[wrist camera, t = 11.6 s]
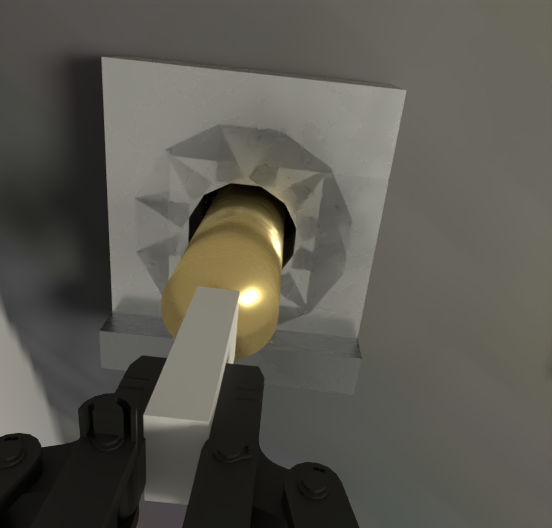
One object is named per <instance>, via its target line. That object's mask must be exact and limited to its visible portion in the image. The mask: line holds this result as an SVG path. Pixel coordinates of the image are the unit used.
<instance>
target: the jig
mask: <svg viewBox="0 0 552 528" xmlns="http://www.w3.org/2000/svg"><path fill="white" fill-rule="evenodd" d="M101 58H102V81H103V104H104V128H105V151H106V174H107V197H108V220H109V243H110V266H111V290H112V314H111V315H110V316H109V318H108V319H107V321H106V322H105V323H104V325H103V326H102V328H101V329H100V331H99V333H100V351H101V368H107V369H116V370H125V371H127V369H128V367H129V365H130V364H131V363H133V362H134V361H135V360H137V359H138V358H139V357H140V356H142V355H144V356H154V357H163V358H168V355H169V353H170V351H171V348H172V346H173V343H174V341H175V340H174V339H173V337H172V336H171V335H170V333H169V332H168V330H167V328H166V326H165V324H164V321H163V318H162V313H161V299H162V295H163V291H164V289H165V286H166V284H167V283H168V281H169V279H170V277H171V275H172V274H173V272H174V270H175V268H176V266H177V265H178V263H179V261H180V259H181V257H182V256H183V254H184V252H185V250H186V248H187V247H188V245H189V243H190V241H191V239H192V238H193V236H194V234H195V232H196V230H197V229H198V227H199V225H200V223H201V221H202V200H203V196H204V195H205V194H207V193H209V192H212V191H214V190H216V189H218V188H221V187H223V186H225V185H227V184H230V183H236V184H245V185H254V186H261V187H262V188H264V189H265V190H267V191H268V192H270V193H271V194H272V195H274V196H275V197H277V198H278V199H279V200H281V201H282V202H284V203H285V205H286V207H287V209H288V211H289V213H290V216H291V218H292V220H293V222H294V230H293V232H292V233H291V234H290V235H289V237H288V238H287V239H286V240H285V242H284V243H283V257H282V272H281V287H280V302H279V317H278V323H277V327H276V329H275V332H274V334H273V336H272V337H271V339H270V340H269V341H268V343H267V344H266V345H265V346H264V347H263V348H261V349H260V350H259V351H257V352H256V353H254V354H252V355H250V356H248V357H246V358H242V359H239V360H234V362H233V364H240V365H249V366H259V368H260V370H261V372H262V374H263V376H264V378H265V379H264V385H267V386H276V387H286V388H295V389H304V390H314V391H323V392H333V393H342V394H352V395H354V393H355V388H356V384H357V379H358V374H359V369H360V364H361V359H362V358H361V353H360V349H359V344H358V339H357V337H358V332H359V327H360V322H361V317H362V312H363V307H364V302H365V297H366V292H367V287H368V282H369V277H370V272H371V267H372V262H373V257H374V252H375V246H376V241H377V236H378V231H379V226H380V221H381V216H382V211H383V206H384V201H385V196H386V191H387V186H388V181H389V176H390V171H391V166H392V161H393V156H394V151H395V146H396V140H397V135H398V130H399V125H400V120H401V115H402V110H403V105H404V100H405V95H406V90H405V89H402V88H399V87H396V86H394V85H391V84H382V83H373V82H364V81H354V80H345V79H336V78H327V77H318V76H309V75H299V74H290V73H281V72H272V71H263V70H254V69H245V68H235V67H226V66H217V65H208V64H199V63H190V62H180V61H171V60H162V59H153V58H144V57H135V56H111V57H101Z"/></svg>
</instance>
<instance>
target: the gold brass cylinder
mask: <svg viewBox="0 0 552 528" xmlns="http://www.w3.org/2000/svg"><path fill="white" fill-rule="evenodd" d="M284 227H285V206H284V202H282V201H281V200H279V199H278V198H277V197H275V196H274V195H272V194H271V193H270V192H268V191H267V190H265V189H264V188H262V187H261V186H254V185H245V184H236V183H230V184H227V185H225V186H223V187H222V188H221V189H220V190H219V191H218V193H217V194H216V196H215V198H214V200H213V201H212V203H211V205H210V207H209V209H208V210H207V212H206V214H205V216H204V218H203V220H202V221H201V223H200V225H199V227H198V229H197V230H196V232H195V234H194V236H193V238H192V239H191V241H190V243H189V245H188V247H187V248H186V250H185V252H184V254H183V256H182V257H181V259H180V261H179V263H178V265H177V266H176V268H175V270H174V272H173V274H172V275H171V277H170V279H169V281H168V283H167V284H166V286H165V289H164V291H163V295H162V299H161V313H162V318H163V321H164V324H165V326H166V328H167V330H168V332H169V333H170V335H171V336H172V337H173V339H174V340H175V339H176V336H177V334H178V331H179V329H180V327H181V324H182V322H183V320H184V317H185V315H186V312H187V310H188V308H189V305H190V303H191V301H192V298H193V296H194V293H195V291H196V289H197V286H199V287H209V288H218V289H228V290H237V291H240V295H239V308H238V321H237V334H236V347H235V357H234V360H239V359H242V358H246V357H248V356H250V355H252V354H254V353H256V352H257V351H259V350H260V349H261V348H263V347H264V346H265V345H266V344H267V343H268V341H269V340H270V339H271V337H272V336H273V334H274V332H275V329H276V327H277V323H278V317H279V302H280V287H281V272H282V257H283V242H284Z"/></svg>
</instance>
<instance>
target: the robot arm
mask: <svg viewBox="0 0 552 528" xmlns="http://www.w3.org/2000/svg"><path fill="white" fill-rule="evenodd" d="M239 295H240V291H237V290H228V289H218V288H209V287H199V286H197V289H196V291H195V293H194V296H193V298H192V301H191V303H190V305H189V308H188V310H187V312H186V315H185V317H184V320H183V322H182V324H181V327H180V329H179V331H178V334H177V336H176V339H175V341H174V343H173V346H172V348H171V351H170V353H169V355H168V358H163V357H154V356H144V355H142V356H140V357H139V358H138V359H137V360H135V361H134V362H133V363H131V364H130V365H129V367H128V369H127V371H126V373H125V375H124V376H123V379H122V380H121V382H120V384H119V386H118V389H117V390H116V392H115V393H111V394H102V395H98V396H95V397H93V398H91V399H89V400H87V401H86V402H84V403H83V404H82V405H81V407H80V408H79V409H78V414H79V426H80V438H79V440H77V441H74V442H71V443H67V444H62V445H55V446H48V447H41V444H40V443H39V441H38V439H37V438H35V437H34V436H32V435H30V434H22V433H15V434H8V435H4V436H2V437H0V528H136V526H137V523H138V518H139V501H140V498H141V495H142V493H143V490H144V488H145V500H147V501H157V502H166V503H176V504H185V505H188V507H187V511H186V515H185V519H184V523H183V527H182V528H359V526H358V523H357V521H356V518H355V515H354V513H353V510H352V508H351V505H350V503H349V500H348V497H347V495H346V492H345V490H344V487H343V484H342V482H341V481H340V479H339V477H338V476H337V474H336V473H335V472H333V471H332V470H331V469H330V468H328V467H326V466H324V465H321V464H319V463H312V462H305V463H301V464H297V465H295V466H294V467H292V468H291V469H290V470H289V469H286V468H284V467H281V466H279V465H277V464H275V463H273V462H272V461H270V460H269V459H268V458H267V457H266V456H265V455H264V454H263V452H262V451H261V449H260V446H259V430H260V420H261V409H262V399H263V389H264V379H265V378H264V376H263V374H262V372H261V370H260V368H259V366H249V365H240V364H233V362H234V357H235V347H236V334H237V321H238V308H239Z"/></svg>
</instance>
